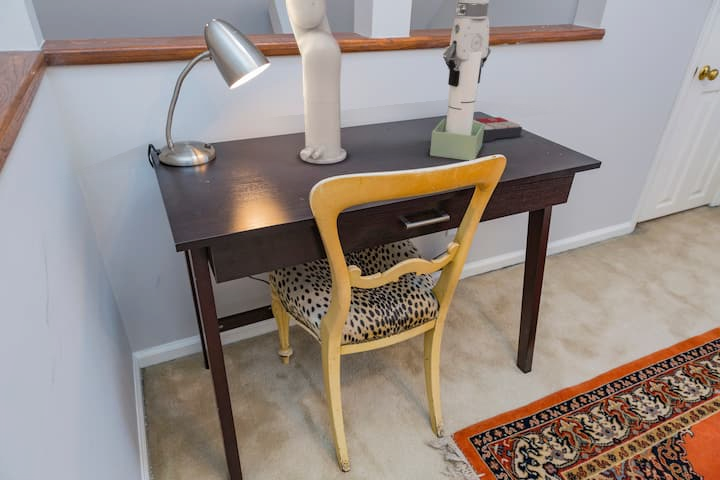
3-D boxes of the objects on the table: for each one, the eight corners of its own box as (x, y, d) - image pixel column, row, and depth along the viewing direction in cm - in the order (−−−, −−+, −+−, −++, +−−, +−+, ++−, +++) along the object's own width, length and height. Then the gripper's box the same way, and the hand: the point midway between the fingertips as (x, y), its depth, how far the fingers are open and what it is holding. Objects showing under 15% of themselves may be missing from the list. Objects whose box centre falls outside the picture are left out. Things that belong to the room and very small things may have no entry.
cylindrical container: (471, 148, 135) (484, 53, 123) (446, 148, 135) (456, 53, 123) (467, 140, 141) (478, 49, 129) (442, 140, 142) (451, 48, 129)
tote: (473, 161, 132) (477, 136, 128) (429, 155, 135) (432, 131, 132) (481, 145, 143) (484, 123, 140) (441, 140, 147) (443, 118, 144)
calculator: (523, 124, 150) (484, 127, 144) (520, 138, 152) (482, 142, 146) (499, 116, 159) (462, 118, 152) (497, 129, 161) (460, 132, 154)
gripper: (457, 13, 115) (449, 90, 123) (507, 11, 123) (496, 83, 132) (436, 11, 120) (430, 85, 129) (485, 9, 129) (476, 78, 137)
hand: (463, 83), depth 130 cm, fingers closed on cylindrical container, 7 cm apart
